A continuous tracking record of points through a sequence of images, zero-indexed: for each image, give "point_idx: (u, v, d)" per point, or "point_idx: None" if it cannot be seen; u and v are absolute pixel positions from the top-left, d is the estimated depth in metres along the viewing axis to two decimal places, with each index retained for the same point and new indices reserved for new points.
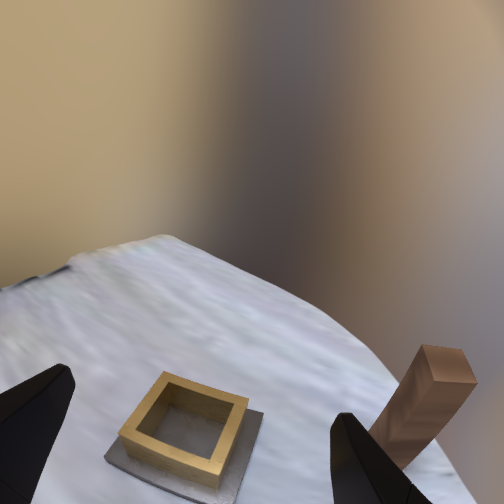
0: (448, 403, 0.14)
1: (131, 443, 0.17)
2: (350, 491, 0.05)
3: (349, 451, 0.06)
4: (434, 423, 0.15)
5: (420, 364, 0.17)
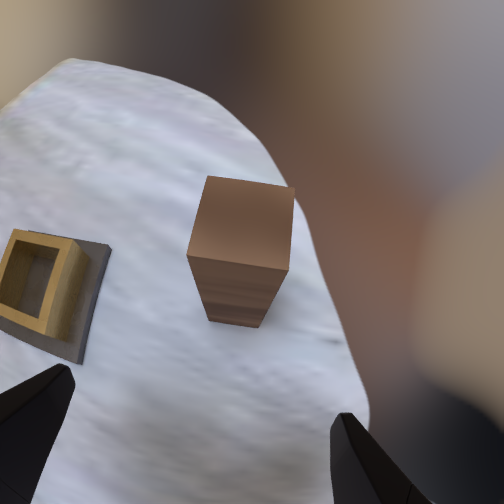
0: (248, 282, 0.13)
1: None
2: (350, 491, 0.05)
3: (349, 451, 0.06)
4: (248, 297, 0.15)
5: None
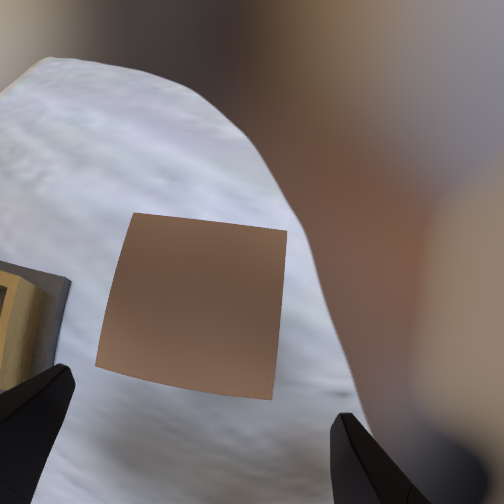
0: None
1: None
2: (350, 491, 0.05)
3: (349, 451, 0.06)
4: None
5: None
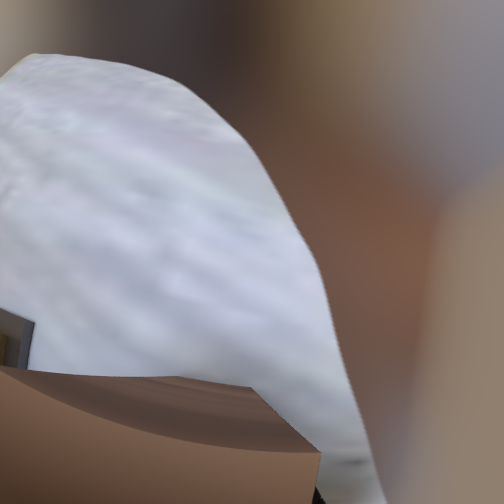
0: None
1: None
2: None
3: None
4: None
5: None
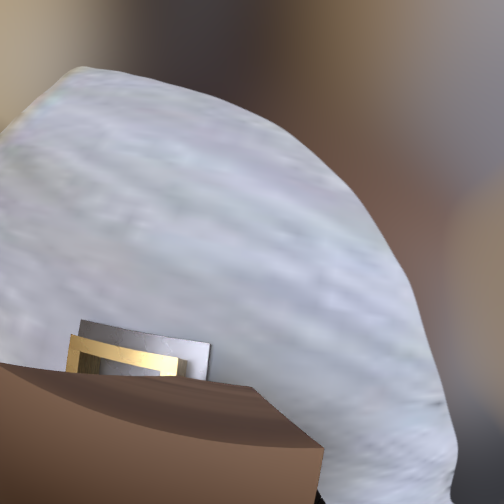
0: None
1: None
2: None
3: None
4: None
5: None
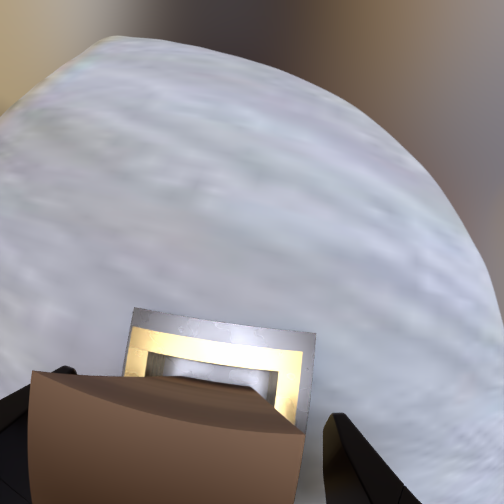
0: None
1: None
2: (342, 492, 0.05)
3: (341, 452, 0.06)
4: None
5: None
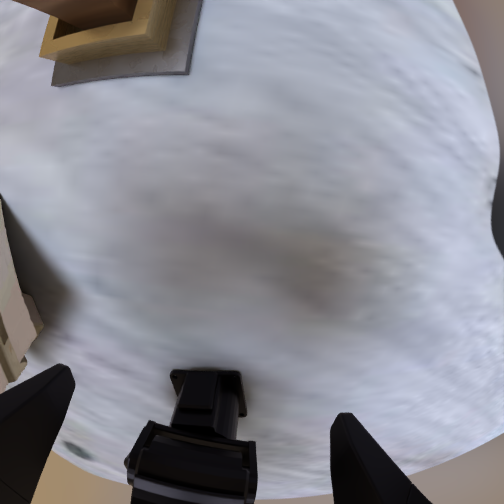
0: None
1: (56, 55, 0.12)
2: (350, 491, 0.05)
3: (349, 451, 0.06)
4: None
5: None
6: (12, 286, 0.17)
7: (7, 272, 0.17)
